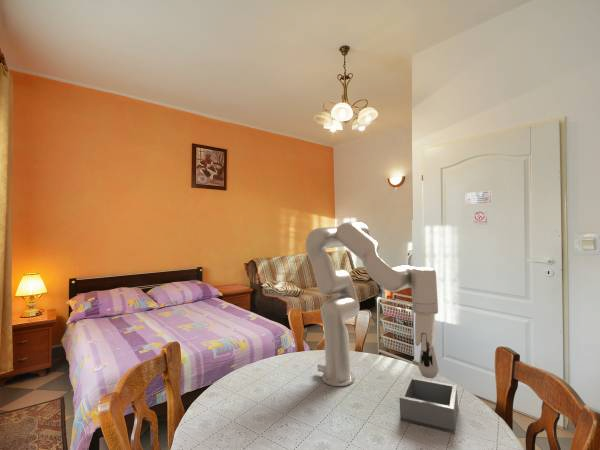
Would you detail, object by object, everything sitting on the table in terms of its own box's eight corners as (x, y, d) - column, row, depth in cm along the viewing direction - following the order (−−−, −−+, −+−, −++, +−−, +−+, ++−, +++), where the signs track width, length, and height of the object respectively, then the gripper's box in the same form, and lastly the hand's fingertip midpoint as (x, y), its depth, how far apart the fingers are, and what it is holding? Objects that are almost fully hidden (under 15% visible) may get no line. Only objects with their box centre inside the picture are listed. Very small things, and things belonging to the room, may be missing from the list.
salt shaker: (440, 380, 98) (438, 337, 98) (420, 379, 99) (418, 336, 100) (436, 371, 104) (434, 331, 104) (417, 371, 105) (415, 330, 105)
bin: (400, 420, 99) (399, 397, 99) (409, 397, 112) (408, 376, 112) (454, 433, 91) (453, 409, 92) (457, 407, 105) (456, 385, 105)
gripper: (416, 300, 111) (419, 354, 111) (407, 312, 97) (410, 374, 96) (440, 302, 107) (443, 357, 107) (434, 314, 93) (438, 379, 93)
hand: (428, 365), depth 102 cm, fingers closed on salt shaker, 3 cm apart
